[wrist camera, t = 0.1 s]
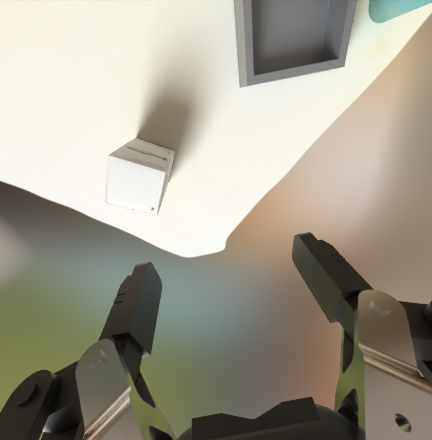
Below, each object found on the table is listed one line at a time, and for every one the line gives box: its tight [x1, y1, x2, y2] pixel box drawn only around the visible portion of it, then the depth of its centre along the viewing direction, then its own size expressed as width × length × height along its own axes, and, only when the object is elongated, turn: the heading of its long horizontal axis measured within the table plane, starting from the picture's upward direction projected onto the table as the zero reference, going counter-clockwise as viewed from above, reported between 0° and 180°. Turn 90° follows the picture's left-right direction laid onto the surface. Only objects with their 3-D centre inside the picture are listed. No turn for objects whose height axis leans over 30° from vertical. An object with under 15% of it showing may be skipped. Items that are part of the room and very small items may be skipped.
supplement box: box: [105, 138, 175, 215], centre depth 30 cm, size 7×7×13 cm
